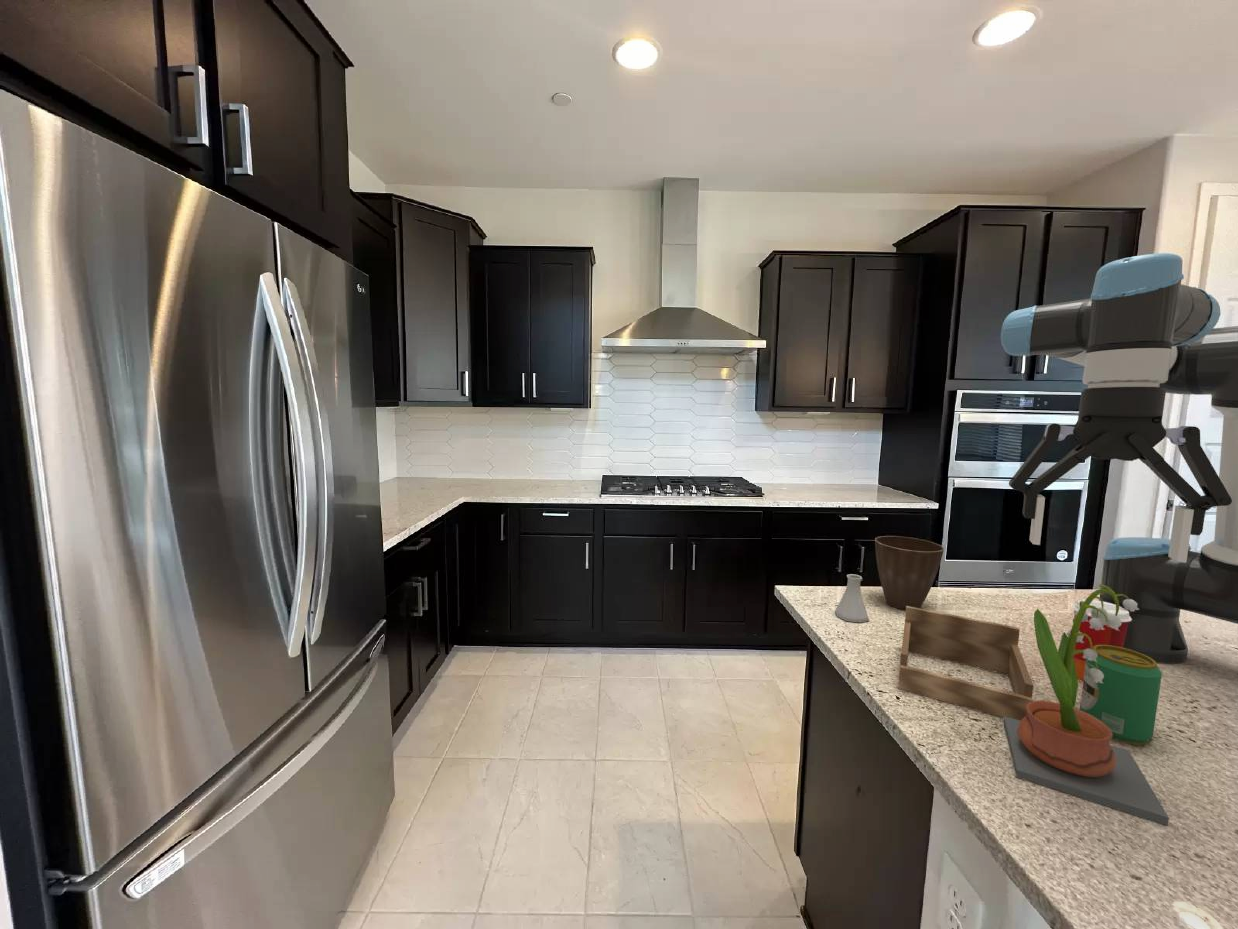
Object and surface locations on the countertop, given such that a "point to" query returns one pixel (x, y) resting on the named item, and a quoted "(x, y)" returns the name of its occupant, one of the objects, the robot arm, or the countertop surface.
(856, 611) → the flask
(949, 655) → the frame
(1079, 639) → the potted flower
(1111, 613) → the paper cup
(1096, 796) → the mat
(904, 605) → the plant pot
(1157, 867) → the countertop surface
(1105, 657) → the beverage can
